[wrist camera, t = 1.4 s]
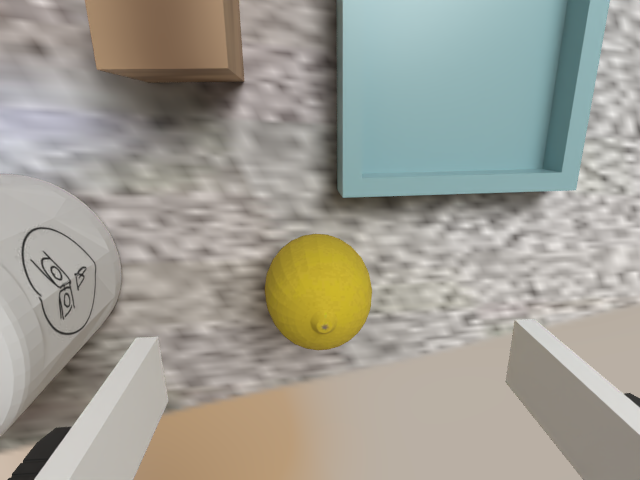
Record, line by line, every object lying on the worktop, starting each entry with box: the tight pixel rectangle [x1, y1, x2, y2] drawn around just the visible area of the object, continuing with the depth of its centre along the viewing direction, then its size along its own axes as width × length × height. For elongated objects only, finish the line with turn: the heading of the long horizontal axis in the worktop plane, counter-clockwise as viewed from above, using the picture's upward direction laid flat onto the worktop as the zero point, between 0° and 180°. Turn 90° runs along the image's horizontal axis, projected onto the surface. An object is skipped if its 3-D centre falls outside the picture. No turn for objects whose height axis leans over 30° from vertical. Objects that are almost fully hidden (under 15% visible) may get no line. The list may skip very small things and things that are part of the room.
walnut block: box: [85, 0, 244, 83], centre depth 17 cm, size 5×5×6 cm
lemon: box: [265, 234, 372, 350], centre depth 21 cm, size 6×6×8 cm
